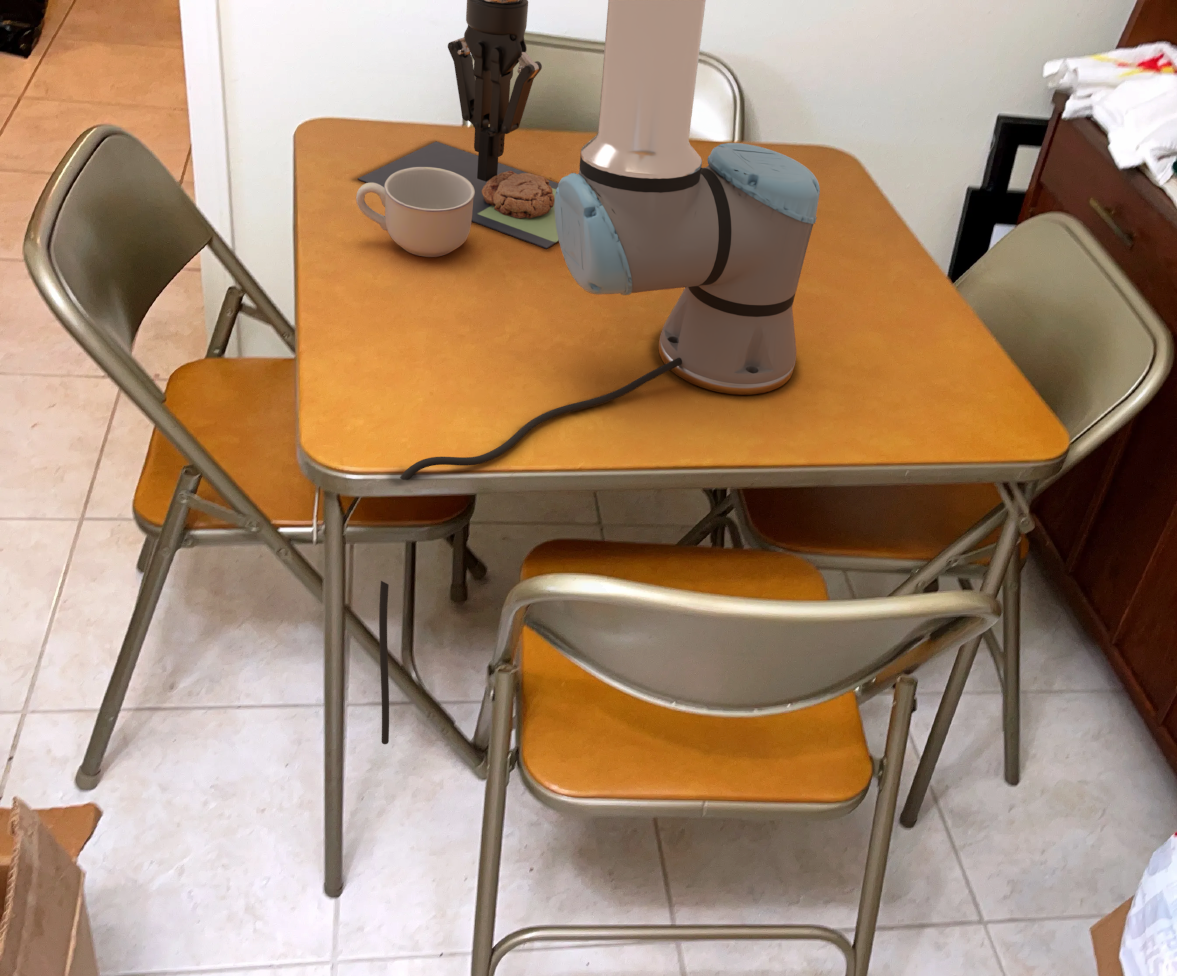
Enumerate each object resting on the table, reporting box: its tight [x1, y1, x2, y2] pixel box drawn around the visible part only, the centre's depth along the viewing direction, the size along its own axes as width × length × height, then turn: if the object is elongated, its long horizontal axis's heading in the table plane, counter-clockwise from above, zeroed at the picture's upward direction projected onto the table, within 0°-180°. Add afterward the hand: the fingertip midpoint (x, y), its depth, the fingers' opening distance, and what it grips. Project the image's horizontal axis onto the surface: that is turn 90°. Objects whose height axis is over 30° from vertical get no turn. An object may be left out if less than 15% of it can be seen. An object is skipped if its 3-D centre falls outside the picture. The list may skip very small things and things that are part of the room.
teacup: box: [355, 167, 475, 258], centre depth 136 cm, size 14×11×8 cm
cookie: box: [482, 171, 554, 218], centre depth 150 cm, size 10×11×3 cm
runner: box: [357, 140, 559, 250], centre depth 153 cm, size 18×30×1 cm, turn 61°
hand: (487, 177), depth 152 cm, fingers closed
